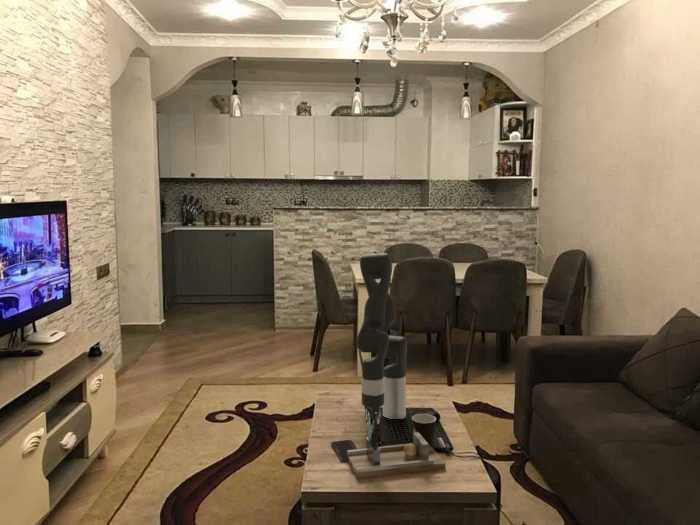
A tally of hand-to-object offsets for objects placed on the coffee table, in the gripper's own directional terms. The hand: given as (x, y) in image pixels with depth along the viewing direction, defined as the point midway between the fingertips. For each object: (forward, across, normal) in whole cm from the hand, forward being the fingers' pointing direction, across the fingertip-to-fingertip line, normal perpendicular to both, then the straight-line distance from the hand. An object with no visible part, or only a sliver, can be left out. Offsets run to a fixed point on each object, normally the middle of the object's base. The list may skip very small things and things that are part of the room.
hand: (373, 440), depth 199 cm
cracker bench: (+9, 0, +8) cm, 12 cm away
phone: (+10, -13, -6) cm, 17 cm away
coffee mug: (+9, -13, +23) cm, 28 cm away
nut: (+7, 0, +13) cm, 15 cm away
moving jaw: (+7, 0, 0) cm, 7 cm away
